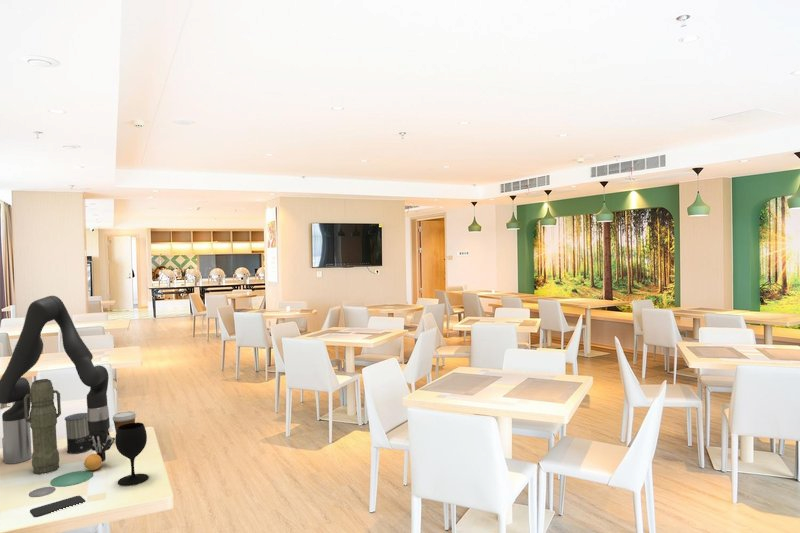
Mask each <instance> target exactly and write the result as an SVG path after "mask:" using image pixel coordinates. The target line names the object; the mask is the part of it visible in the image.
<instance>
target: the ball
mask: <svg viewBox="0 0 800 533" xmlns="http://www.w3.org/2000/svg"><path fill="white" fill-rule="evenodd" d="M102 464H103V462H102V459H101V457H100V456H99V455H97V453H92V454H89V455H87V456H86V457H85V458H84V462H83V465H84V468H85V469H86V470H87V471H95V470H99V468H100V467H101V465H102Z"/></svg>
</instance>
